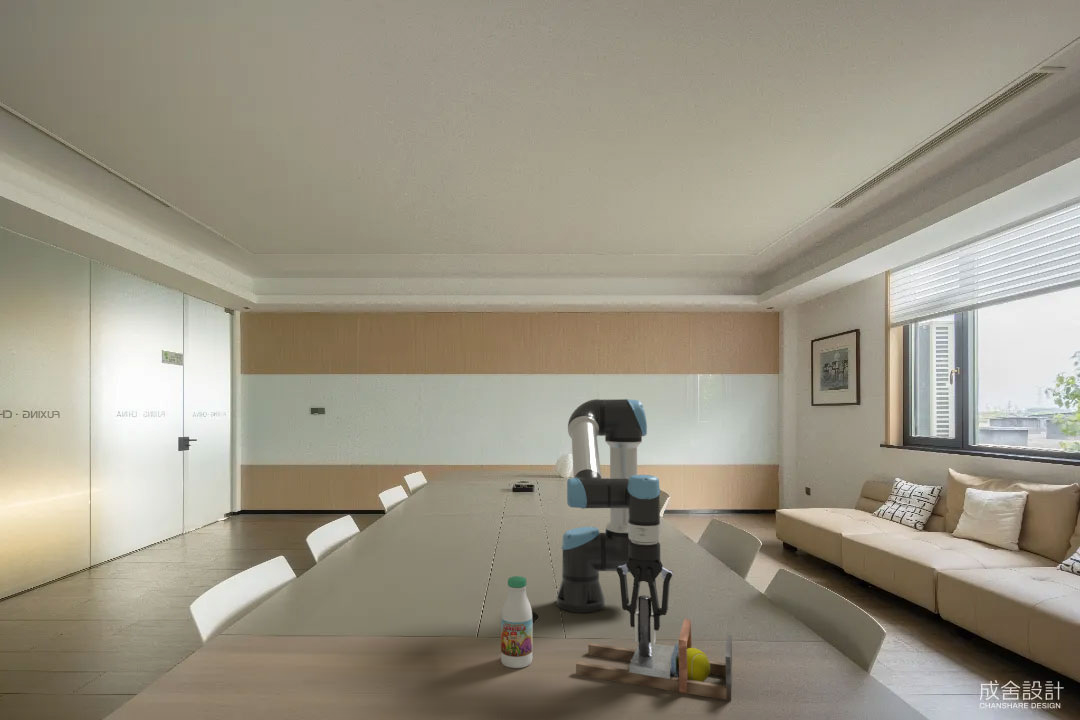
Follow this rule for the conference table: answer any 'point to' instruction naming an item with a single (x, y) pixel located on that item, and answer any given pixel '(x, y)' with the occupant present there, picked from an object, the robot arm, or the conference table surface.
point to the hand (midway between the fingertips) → (645, 642)
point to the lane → (657, 682)
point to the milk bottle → (516, 626)
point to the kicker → (652, 649)
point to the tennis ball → (697, 665)
